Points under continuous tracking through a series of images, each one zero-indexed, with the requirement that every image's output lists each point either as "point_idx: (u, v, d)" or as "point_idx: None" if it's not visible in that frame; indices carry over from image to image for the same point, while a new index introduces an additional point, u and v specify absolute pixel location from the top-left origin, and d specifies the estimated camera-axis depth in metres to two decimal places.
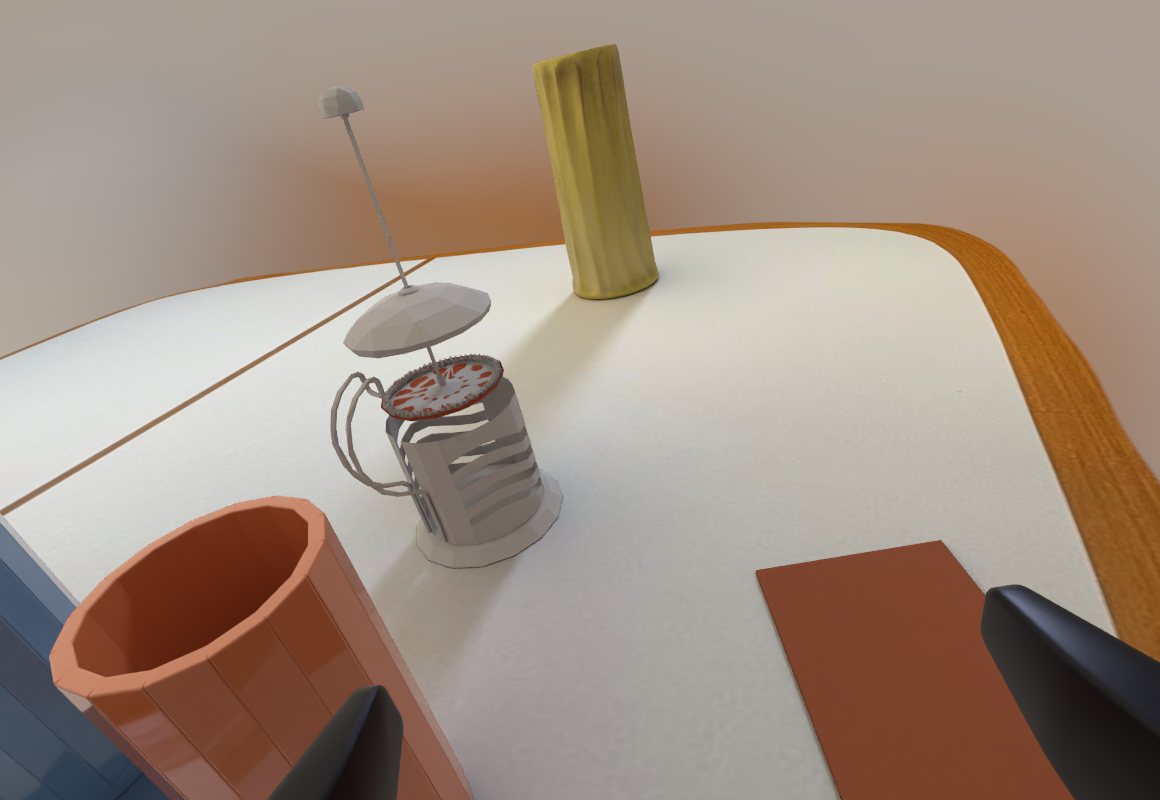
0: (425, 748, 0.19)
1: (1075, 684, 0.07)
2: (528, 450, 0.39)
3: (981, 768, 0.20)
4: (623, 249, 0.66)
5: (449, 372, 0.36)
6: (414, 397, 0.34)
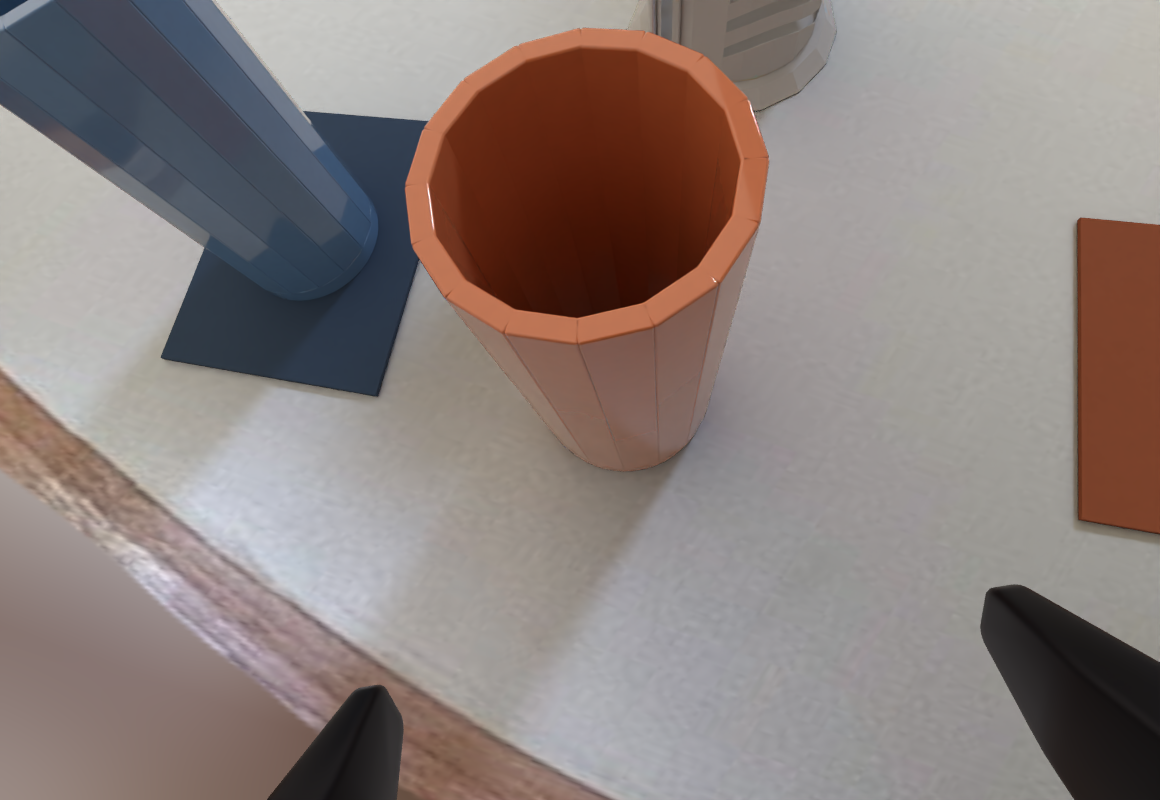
0: None
1: (1075, 684, 0.07)
2: None
3: None
4: None
5: None
6: None
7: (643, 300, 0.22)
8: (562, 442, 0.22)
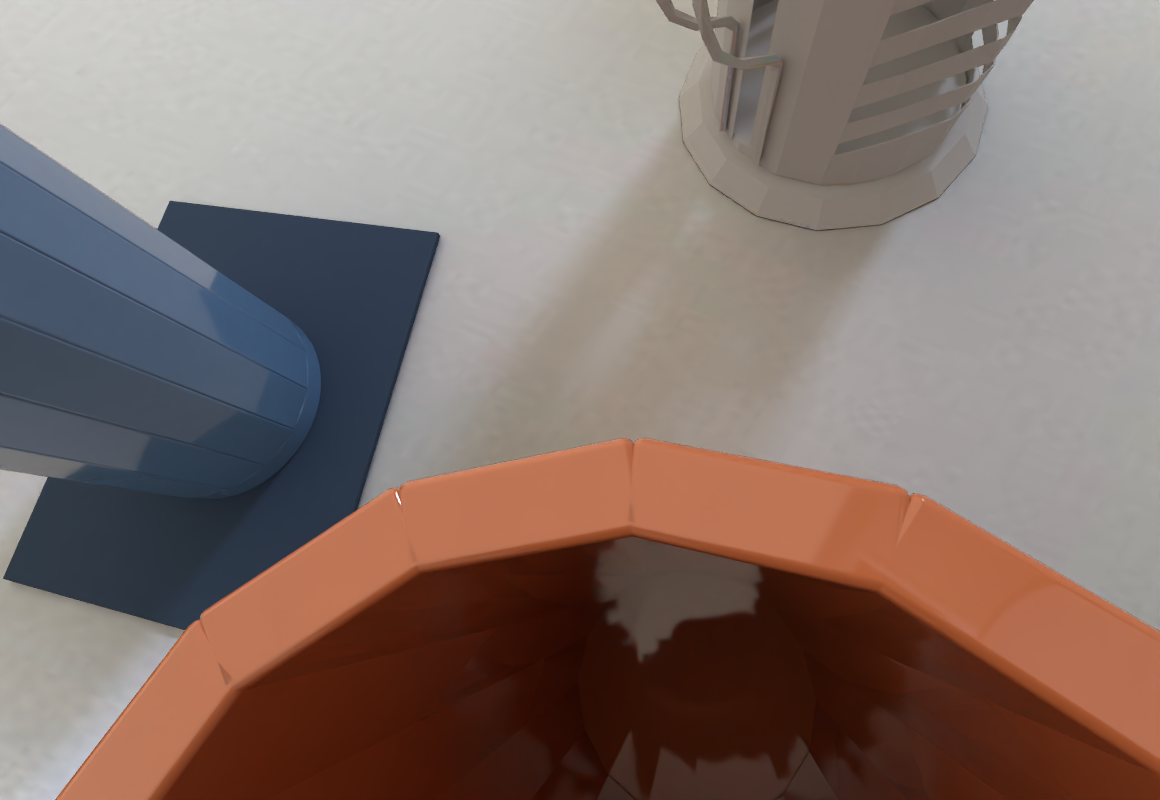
0: None
1: None
2: None
3: None
4: None
5: None
6: None
7: None
8: None
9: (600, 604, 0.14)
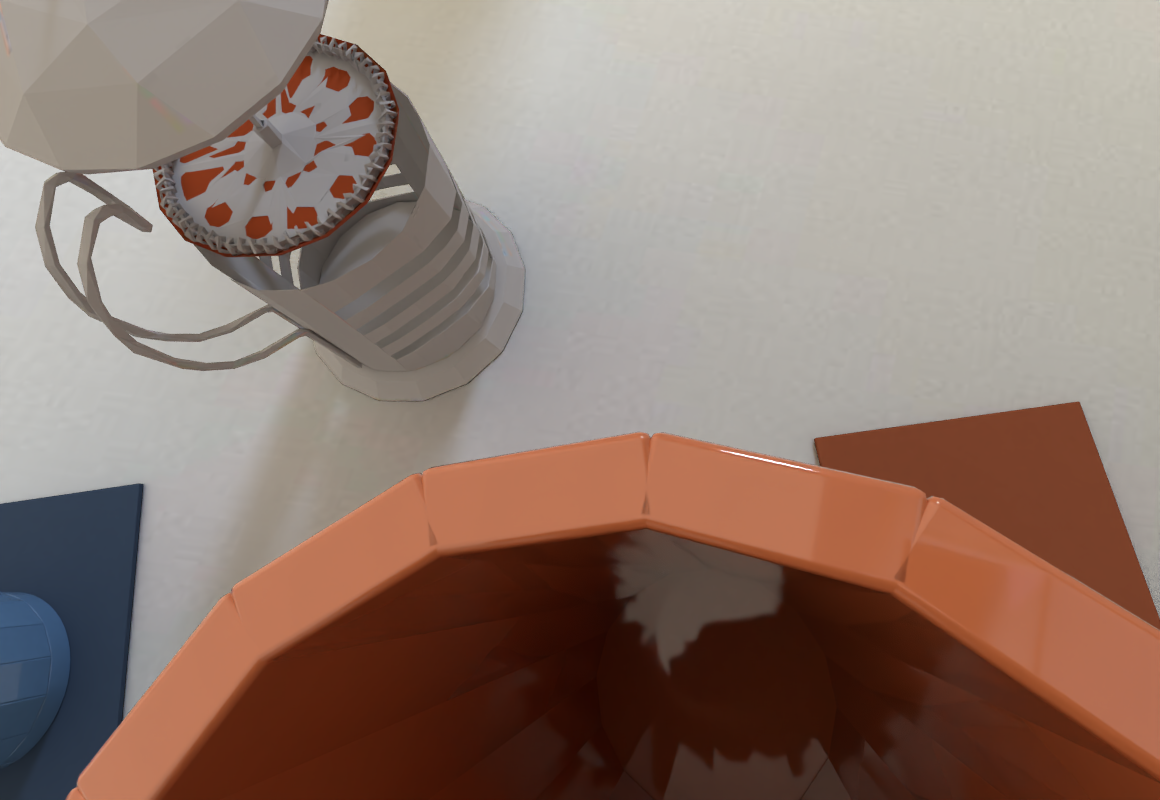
0: None
1: None
2: (462, 199, 0.23)
3: None
4: None
5: None
6: (222, 171, 0.16)
7: (751, 578, 0.13)
8: None
9: (620, 600, 0.14)
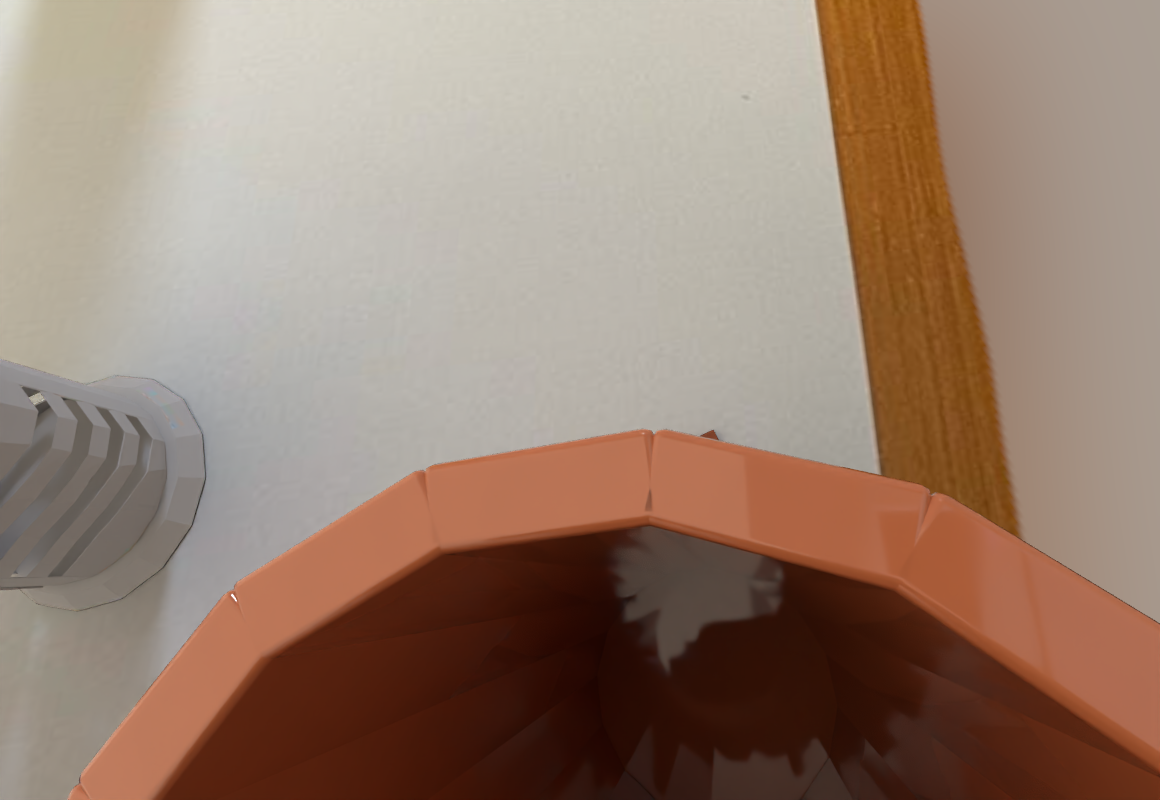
0: None
1: None
2: (98, 393, 0.23)
3: None
4: None
5: None
6: None
7: (752, 578, 0.13)
8: None
9: (621, 599, 0.14)
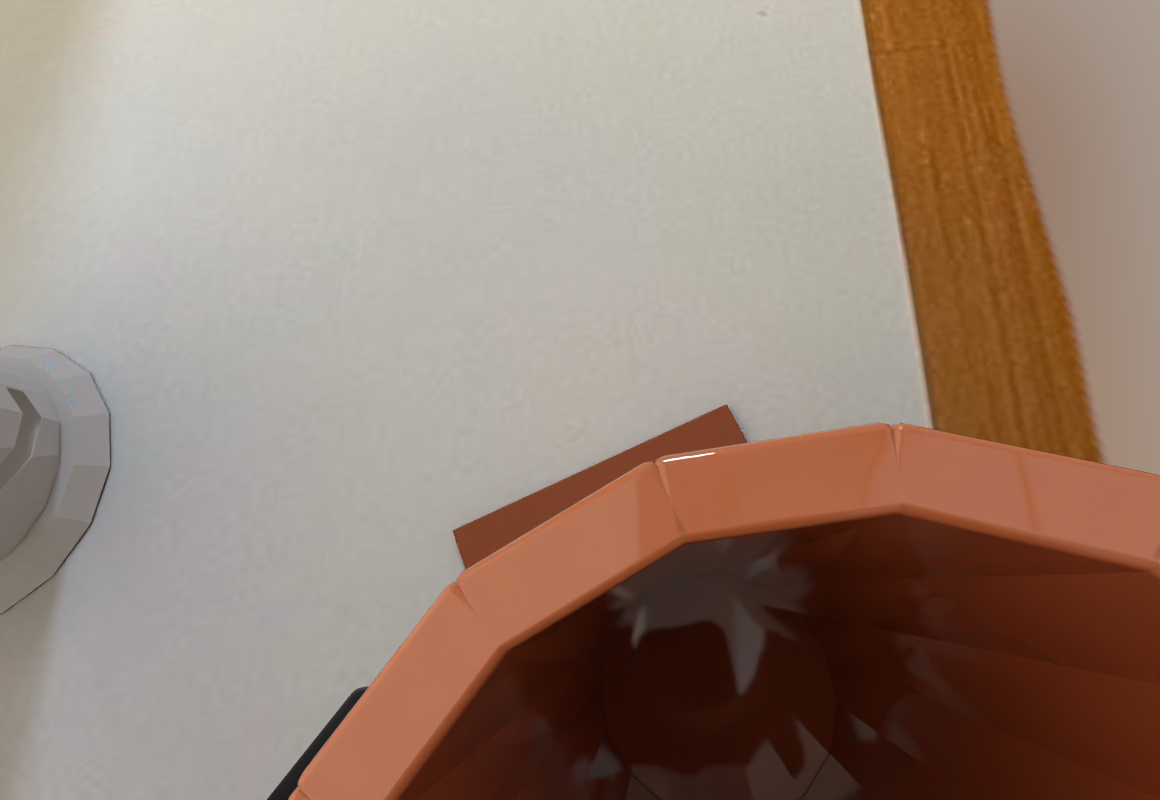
0: None
1: None
2: None
3: None
4: None
5: None
6: None
7: (762, 580, 0.13)
8: None
9: (632, 603, 0.14)
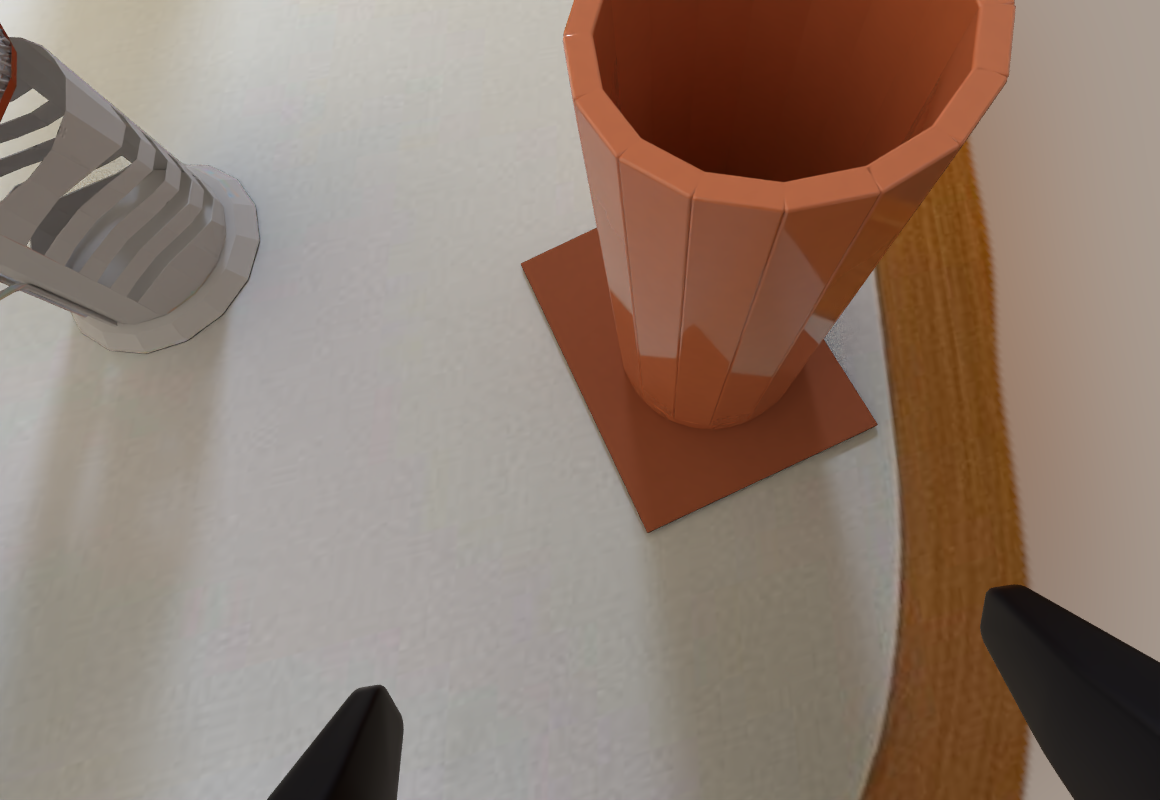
0: None
1: (1075, 684, 0.07)
2: None
3: (746, 431, 0.21)
4: None
5: None
6: None
7: None
8: (645, 392, 0.20)
9: None
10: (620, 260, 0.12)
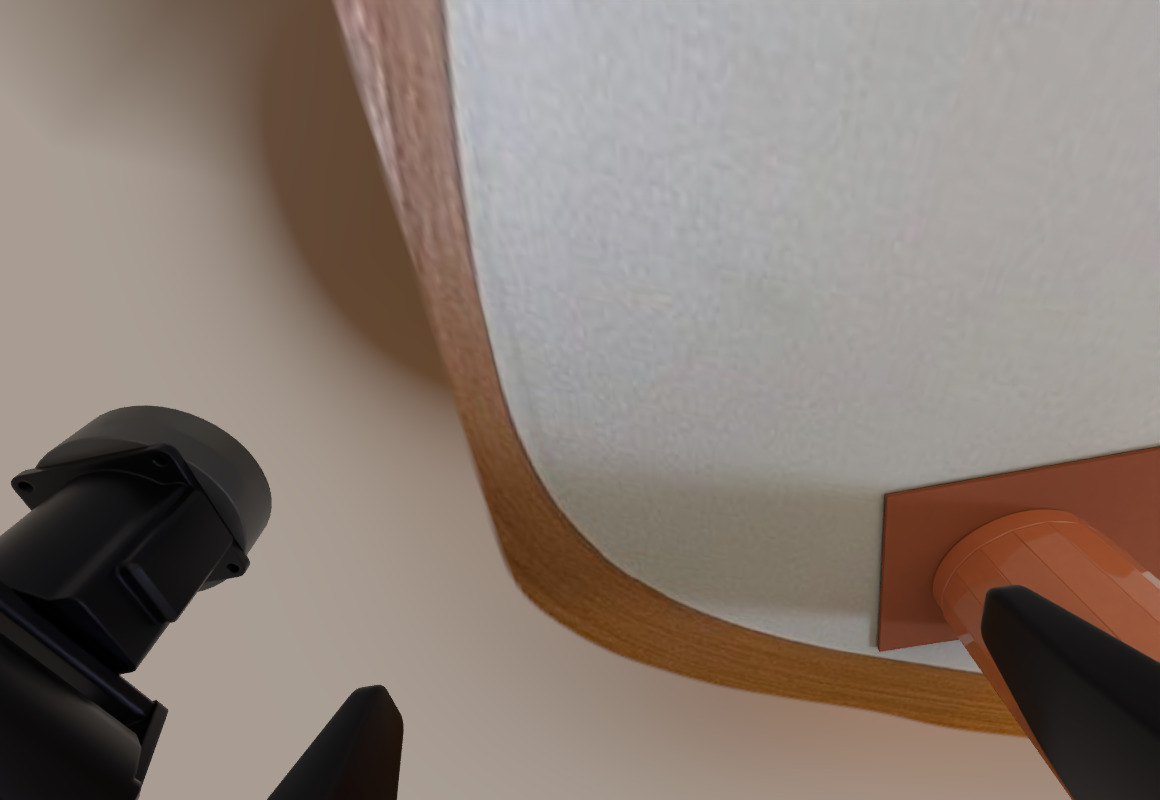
0: None
1: (1075, 684, 0.07)
2: None
3: (925, 579, 0.25)
4: None
5: None
6: None
7: None
8: (1026, 551, 0.21)
9: None
10: None
